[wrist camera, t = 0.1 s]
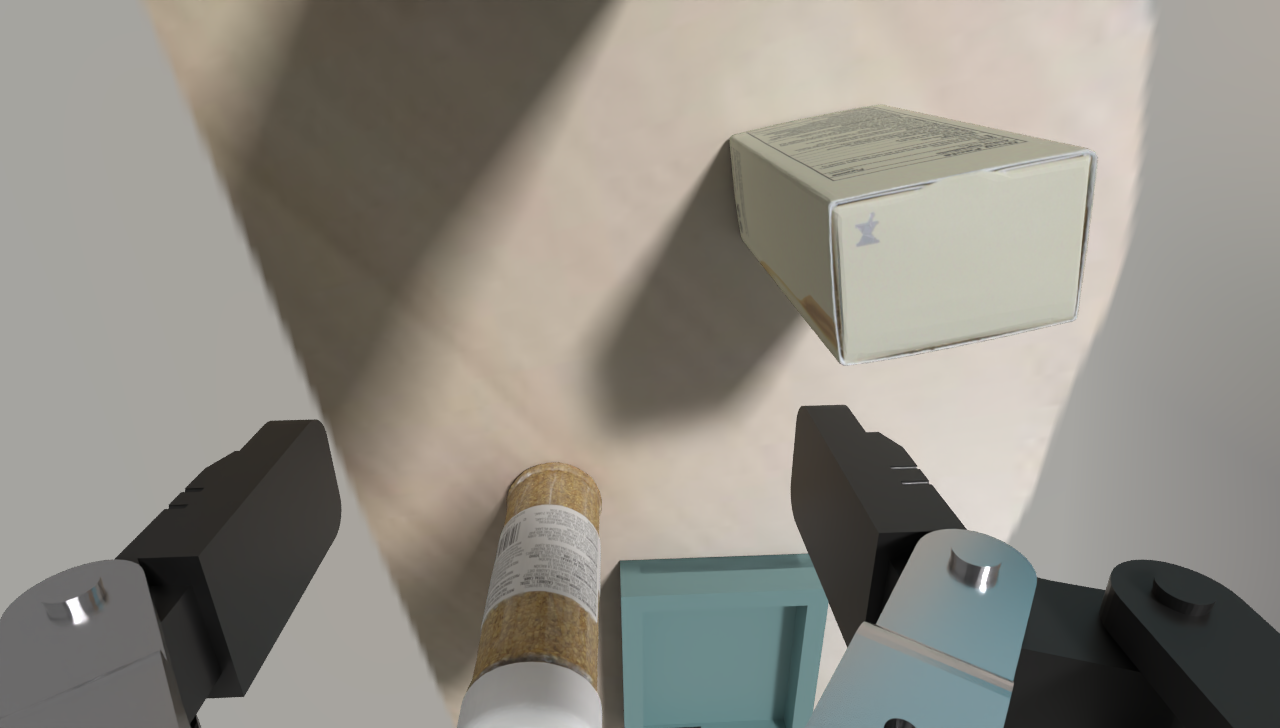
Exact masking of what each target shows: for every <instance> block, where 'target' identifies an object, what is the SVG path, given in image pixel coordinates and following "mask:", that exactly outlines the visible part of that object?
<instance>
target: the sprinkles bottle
mask: <svg viewBox="0 0 1280 728" xmlns="http://www.w3.org/2000/svg"><path fill="white" fill-rule="evenodd" d="M601 510H602V499H601V496H600V491H599V489H598V487H597V485H596V484H595V482H594V481H593V479H592V478H591V477H590V476H589V475H588V474H586V473H584V472H583V471H581V470H580V469H578V468H576V467H574V466H571V465H568V464H563V463H560V462H558V463H546V464H540V465H536V466H535V467H532V468H529V469H528V470H525V471H524V472H523V473H522V474H521V475H520V476H518V478H517V479H516V480H515V482H514V483H513V484H512V485H511V487H510V490H509V494H508V497H507V514H506V518H505V524H504V528H503V530H502V532H501V535H500V540H499V544H498V549H497V554H496V558H495V563H494V568H493V572H492V576H491V581H490V586H489V590H488V596H487V601H486V606H485V611H484V616H483V620H482V625H481V638H480V643H479V647H478V652H477V661H476V666H475V670H474V674H473V679H472V681H471V683H470V685H469V687H468V690H467V692H466V694H465V696H464V699H463V701H462V705H461V710H460V715H459V720H458V725H457V728H602V705H601V701H600V698H599V696H598V693H597V653H598V650H597V649H598V618H599V616H598V613H599V599H600V561H601V545H600V539H599V517H600V514H601Z"/></svg>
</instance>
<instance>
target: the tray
mask: <svg viewBox="0 0 1280 728" xmlns="http://www.w3.org/2000/svg"><path fill="white" fill-rule="evenodd" d="M620 581H621V619H622V656H623V693H624V728H679V727H700V726H701V728H805V726H806V724H807V722H808V721H809V719H810V717H811V715H812V713H813V707H814V700H815V693H816V686H817V679H818V672H819V665H820V658H821V651H822V644H823V637H824V630H825V623H826V616H827V609H828V599H827V597H826V595H825V592H824V590H823V587H822V585H821V583H820V580H819V578H818V575H817V573H816V570H815V568H814V566H813V563H812V561H811V558H810V556H809V554H788V555H761V556H735V557H708V558H681V559H654V560H628V561H620Z"/></svg>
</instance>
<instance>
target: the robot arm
mask: <svg viewBox="0 0 1280 728" xmlns="http://www.w3.org/2000/svg"><path fill="white" fill-rule="evenodd" d="M791 504H792V511H793V515H794V519H795V522H796V525H797V527H798V529H799V532H800V534H801V537H802V539H803V541H804V544H805V546H806V549H807V551H808V554H809V556H810V558H811V561H812V563H813V566H814V568H815V570H816V573H817V575H818V578H819V580H820V583H821V585H822V587H823V590H824V592H825V595H826V597H827V599H828V602H829V604H830V607H831V609H832V611H833V614H834V616H835V619H836V621H837V624H838V626H839V628H840V631H841V633H842V636H843V638H844V640H845V643H846V645H847V650H846V652H845V654H844V656H843V657H842V659H841V661H840V663H839V665H838V667H837V669H836V670H835V672H834V674H833V676H832V678H831V680H830V682H829V683H828V685H827V687H826V689H825V691H824V693H823V695H822V696H821V698H820V700H819V702H818V704H817V706H816V708H815V709H814V711H813V713H812V715H811V717H810V719H809V721H808V722H807V724H806V726H805V728H1280V633H1278V632H1277V631H1276V630H1275V629H1274V628H1273V627H1272V626H1271V625H1269V623H1267V622H1266V621H1265V620H1264V619H1263V618H1262V617H1261V616H1260V615H1259V614H1257V613H1256V612H1255V611H1254V610H1253V609H1252V608H1251V607H1250V606H1249V605H1248V604H1246V603H1245V602H1244V601H1243V600H1242V599H1241V598H1240V597H1238V596H1237V595H1236V594H1235V593H1233V592H1232V591H1230V590H1229V589H1228V588H1226V587H1225V586H1223V585H1222V584H1220V583H1218V582H1216V581H1214V580H1213V579H1211V578H1209V577H1207V576H1204V575H1202V574H1200V573H1198V572H1195V571H1193V570H1190V569H1187V568H1184V567H1181V566H1178V565H1174V564H1170V563H1166V562H1161V561H1153V560H1131V561H1127V562H1123V563H1121V564H1119V565H1117V566H1116V567H1115V568H1114V569H1113V571H1112V573H1111V575H1110V578H1109V581H1108V584H1107V587H1106V590H1101V589H1095V588H1089V587H1084V586H1078V585H1072V584H1067V583H1061V582H1055V581H1050V580H1046V579H1041V578H1038V577H1037V576H1036V572H1035V570H1034V568H1033V566H1032V565H1031V563H1030V562H1029V561H1028V560H1027V558H1025V557H1024V556H1023V555H1022V554H1021V553H1020V552H1018V551H1017V550H1016V549H1015V548H1013V547H1012V546H1010V545H1008V544H1006V543H1005V542H1003V541H1001V540H998V539H996V538H994V537H991V536H989V535H986V534H982V533H979V532H975V531H969V530H967V529H966V528H965V527H964V525H963V524H962V523H961V521H960V520H959V519H958V518H957V516H956V515H955V514H954V512H953V511H952V510H951V509H950V507H949V506H948V505H947V503H946V502H945V501H944V500H943V498H942V497H941V496H940V494H939V493H938V492H937V491H936V489H935V488H934V487H933V485H932V484H930V485H929V480H928V479H927V478H926V476H925V475H924V474H923V473H922V471H921V470H920V469H917V465H916V464H915V462H914V461H913V460H912V458H911V457H910V456H909V455H908V453H907V452H906V451H905V449H904V448H903V447H902V446H900V445H898V444H897V443H895V442H894V441H892V440H890V439H889V438H887V437H886V436H884V435H882V434H881V433H879V432H865V430H864V429H863V428H862V426H861V425H860V423H859V422H858V421H857V419H856V418H855V416H854V415H853V414H852V412H851V411H850V409H849V408H848V407H847V406H846V405H821V406H801V407H800V409H799V411H798V415H797V421H796V432H795V443H794V454H793V466H792V477H791ZM340 519H341V500H340V494H339V490H338V485H337V480H336V476H335V471H334V466H333V462H332V458H331V452H330V448H329V443H328V439H327V434H326V431H325V428H324V426H323V424H322V423H321V422H320V421H319V420H284V421H269V422H267V423H266V424H265V425H264V426H263V427H262V428H261V429H260V430H259V431H258V432H257V433H256V434H255V435H254V436H253V437H252V439H250V441H249V442H248V443H247V444H246V445H245V446H244V447H243V448H242V449H241V450H240V451H234V452H233V453H231V454H229V455H228V456H226V457H224V458H222V459H221V460H219V461H217V462H215V463H214V464H212V465H210V466H209V467H207V468H205V469H204V470H203V471H202V472H201V473H200V474H199V475H198V476H197V477H196V478H195V479H194V480H193V481H192V482H191V483H190V484H189V485H188V486H187V487H186V488H185V492H182V493H180V494H179V495H178V496H177V497H176V498H175V499H174V500H173V501H172V502H171V503H170V504H169V509H164V510H163V511H162V512H161V513H160V514H159V515H158V516H157V517H156V518H155V519H154V520H153V521H152V522H151V523H150V524H149V525H148V526H147V527H146V528H145V529H144V530H143V531H142V532H141V533H140V534H139V535H138V536H137V537H136V538H135V540H133V541H132V542H131V543H130V544H129V545H128V546H127V547H126V548H125V549H124V550H123V551H122V552H121V553H120V554H119V555H118V556H117V557H116V558H115V559H114V560H104V561H98V562H92V563H88V564H84V565H81V566H77V567H74V568H71V569H68V570H66V571H63V572H60V573H58V574H56V575H54V576H52V577H50V578H47V579H46V580H44V581H42V582H40V583H38V584H36V585H35V586H33V587H32V588H30V589H29V590H27V591H26V592H24V593H23V594H22V595H21V596H19V597H18V598H17V599H16V600H15V601H14V602H13V603H12V604H11V605H10V606H9V607H8V608H7V609H6V611H5V612H4V614H3V615H2V617H1V619H0V728H201V726H200V723H199V720H198V718H197V715H196V714H197V712H198V710H199V709H200V707H201V706H202V704H203V702H204V701H205V699H206V698H226V697H244V695H245V694H246V692H247V691H248V689H249V687H250V685H251V684H252V682H253V680H254V678H255V677H256V675H257V673H258V671H259V670H260V668H261V666H262V665H263V663H264V661H265V659H266V658H267V656H268V654H269V652H270V651H271V649H272V647H273V645H274V644H275V642H276V640H277V638H278V637H279V635H280V633H281V631H282V630H283V628H284V626H285V625H286V623H287V621H288V619H289V617H290V616H291V614H292V612H293V610H294V609H295V607H296V605H297V604H298V602H299V600H300V598H301V597H302V595H303V593H304V591H305V590H306V588H307V586H308V584H309V583H310V581H311V579H312V578H313V576H314V574H315V572H316V571H317V569H318V567H319V565H320V564H321V562H322V560H323V558H324V557H325V555H326V553H327V551H328V550H329V548H330V546H331V545H332V543H333V541H334V539H335V537H336V535H337V533H338V530H339V526H340ZM679 728H701V726H700V727H679Z"/></svg>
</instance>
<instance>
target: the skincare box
mask: <svg viewBox="0 0 1280 728" xmlns="http://www.w3.org/2000/svg"><path fill="white" fill-rule="evenodd" d="M730 152H731V164H732V174H733V184H734V193H735V201H736V209H737V216H738V222H739V228H740V234H741V238H742V240H743V242H744V243H745V244H746V245H747V247H748V248H749V249H750V251H751V252H752V253H753V255H754V256H755V257H756V258H757V260H758V261H759V262H760V263H761V265H762V266H763V267H764V268H765V270H766V271H767V272H768V273H769V275H770V276H771V277H772V278H773V280H774V281H775V282H776V284H777V285H778V286H779V288H780V289H781V290H782V292H783V293H784V294H785V295H786V296H787V298H788V299H789V300H790V302H791V303H792V304H793V305H794V307H795V308H796V309H797V311H798V312H799V313H800V314H801V315H802V317H803V318H804V319H805V320H806V322H807V323H808V324H809V326H810V327H811V328H812V329H813V330H814V332H815V333H816V334H817V335H818V337H819V338H820V339H821V341H822V342H823V343H824V345H825V346H826V347H827V348H828V349H829V351H830V352H831V353H832V354H833V356H834V357H835V358H836V359H837V361H838V362H839V363H840V364H842V365H854V364H862V363H870V362H876V361H882V360H889V359H894V358H901V357H906V356H913V355H918V354H922V353H928V352H933V351H938V350H942V349H948V348H953V347H958V346H963V345H968V344H973V343H977V342H982V341H987V340H992V339H996V338H1000V337H1006V336H1011V335H1015V334H1019V333H1023V332H1027V331H1032V330H1037V329H1041V328H1045V327H1049V326H1054V325H1058V324H1063V323H1067V322H1072V321H1074V320H1076V318H1077V317H1078V312H1079V304H1080V294H1081V288H1082V282H1083V276H1084V267H1085V261H1086V254H1087V248H1088V239H1089V229H1090V222H1091V215H1092V207H1093V199H1094V189H1095V181H1096V172H1097V163H1098V157H1097V155H1096V153H1095V151H1092V150H1090V149H1088V148H1084V147H1079V146H1074V145H1070V144H1065V143H1060V142H1055V141H1051V140H1046V139H1041V138H1036V137H1031V136H1027V135H1022V134H1017V133H1013V132H1008V131H1003V130H999V129H994V128H990V127H985V126H980V125H975V124H971V123H966V122H961V121H956V120H951V119H947V118H942V117H937V116H933V115H928V114H923V113H919V112H914V111H909V110H905V109H900V108H896V107H891V106H886V105H876V106H869V107H863V108H857V109H851V110H846V111H841V112H835V113H830V114H824V115H819V116H815V117H810V118H805V119H800V120H796V121H791V122H786V123H781V124H777V125H773V126H768V127H764V128H760V129H755V130H751V131H747V132H743V133H739V134H735V135H732V136H731V137H730Z"/></svg>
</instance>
